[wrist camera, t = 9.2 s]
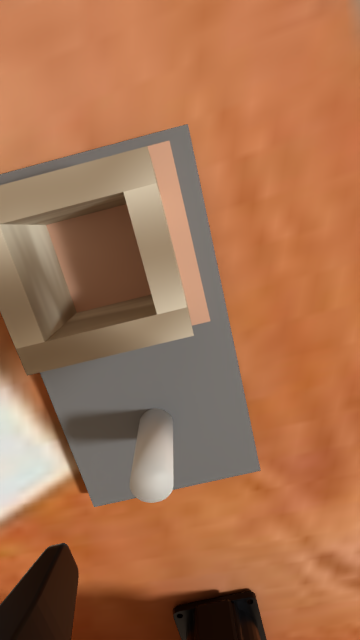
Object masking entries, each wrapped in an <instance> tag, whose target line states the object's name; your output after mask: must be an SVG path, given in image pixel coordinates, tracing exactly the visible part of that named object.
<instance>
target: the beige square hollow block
mask: <svg viewBox="0 0 360 640" xmlns="http://www.w3.org/2000/svg"><path fill="white" fill-rule="evenodd" d="M125 204H127V207H128V211H129V214H130V218H131V222H132V225H133V229H134V233H135V236H136V240H137V243H138V247H139V251H140V254H141V258H142V262H143V265H144V269H145V273H146V276H147V280H148V283H149V287H150V291H151V295H147V296H143V297H139V298H135V299H131V300H127V301H123V302H119V303H115V304H110V305H106V306H102V307H98V308H94V309H90V310H86V311H82V312H78V313H77V312H76V309H75V306H74V304H73V301H72V298H71V295H70V292H69V289H68V286H67V283H66V281H65V278H64V275H63V272H62V269H61V266H60V263H59V260H58V258H57V255H56V252H55V249H54V246H53V243H52V240H51V237H50V235H49V232H48V229H47V226H46V225H48V224H52V223H56V222H60V221H63V220H67V219H71V218H75V217H79V216H83V215H86V214H90V213H94V212H98V211H102V210H106V209H110V208H113V207H117V206H121V205H125ZM0 312H1V314H2V317H3V319H4V322H5V324H6V326H7V329H8V331H9V334H10V336H11V338H12V341H13V343H14V346H15V348H16V350H17V353H18V355H19V358H20V360H21V362H22V365H23V367H24V370H25V372H26V374H27V376H28V375H32V374H36V373H40V372H44V371H48V370H53V369H57V368H61V367H65V366H69V365H74V364H78V363H82V362H86V361H90V360H94V359H99V358H103V357H107V356H111V355H115V354H119V353H124V352H128V351H132V350H136V349H140V348H144V347H149V346H153V345H157V344H161V343H165V342H169V341H174V340H178V339H182V338H186V337H190V336H194V334H193V329H192V324H191V319H190V314H189V309H188V305H187V301H186V297H185V293H184V289H183V285H182V280H181V276H180V272H179V268H178V264H177V260H176V256H175V252H174V248H173V244H172V240H171V236H170V232H169V227H168V223H167V219H166V215H165V211H164V207H163V203H162V199H161V195H160V191H159V187H158V183H157V178H156V174H155V170H154V167H153V163H152V160H151V157H150V153H149V150H148V147H147V146H146V147H142V148H138V149H134V150H131V151H127V152H123V153H119V154H116V155H112V156H108V157H104V158H101V159H97V160H93V161H89V162H86V163H82V164H78V165H74V166H71V167H67V168H63V169H60V170H56V171H52V172H48V173H45V174H41V175H37V176H33V177H30V178H26V179H22V180H18V181H15V182H11V183H7V184H3V185H0Z"/></svg>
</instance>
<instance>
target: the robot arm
mask: <svg viewBox="0 0 360 640" xmlns="http://www.w3.org/2000/svg"><path fill="white" fill-rule="evenodd" d="M77 586H78V567H77V565H76V562H75V560H74V558H73V556H72V554H71V551H70V549H69V547H68V545H67V544H65V543H61V544H56V545H52V546H49V547H48V548H47V549H46V550H45V551H44V552H43V553H42V554H41V556H40V557H39V558H38V559H37V561H36V562H35V563H34V564H33V565H32V567H31V568H30V569H29V570H28V572H27V573H26V574H25V575H24V576H23V578H22V579H21V580H20V581H19V583H18V584H17V585H16V586H15V587H14V589H13V590H12V591H11V592H10V594H9V595H8V596H7V597H6V598H5V600H4V601H3V602H2V603H1V605H0V640H71V635H72V627H73V619H74V611H75V602H76V594H77ZM173 616H174V620H175V623H176V625H177V628H178V631H179V634H180V637H181V639H182V640H266V636H265V632H264V628H263V624H262V620H261V616H260V612H259V608H258V604H257V600H256V596H255V593H253V592H251V591H249V592H243V593H238V594H233V595H228V596H223V597H218V598H214V599H209V600H204V601H199V602H194V603H189V604H184V605H179V606H176V607H175V608H174V609H173Z"/></svg>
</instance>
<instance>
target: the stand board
mask: <svg viewBox="0 0 360 640" xmlns="http://www.w3.org/2000/svg"><path fill="white" fill-rule="evenodd" d="M146 146H147V147H148V150H149V153H150V157H151V160H152V163H153V167H154V170H155V174H156V178H157V183H158V187H159V191H160V195H161V199H162V203H163V207H164V211H165V215H166V219H167V223H168V227H169V232H170V236H171V240H172V244H173V248H174V252H175V256H176V260H177V264H178V268H179V272H180V276H181V280H182V285H183V289H184V293H185V297H186V301H187V305H188V309H189V314H190V319H191V324H192V329H193V334H194V336H190V337H186V338H182V339H178V340H174V341H169V342H165V343H161V344H157V345H153V346H149V347H144V348H140V349H136V350H132V351H128V352H124V353H119V354H115V355H111V356H107V357H103V358H99V359H94V360H90V361H86V362H82V363H78V364H74V365H69V366H65V367H61V368H57V369H53V370H48V371H44V372H40V374H41V377H42V379H43V381H44V384H45V386H46V389H47V391H48V394H49V396H50V399H51V401H52V404H53V406H54V409H55V411H56V414H57V416H58V419H59V421H60V424H61V426H62V429H63V431H64V434H65V436H66V439H67V441H68V443H69V446H70V448H71V451H72V453H73V456H74V458H75V461H76V463H77V466H78V468H79V471H80V473H81V476H82V478H83V481H84V483H85V486H86V488H87V491H88V493H89V496H90V498H91V501H92V503H93V505H94V507H97V506H101V505H106V504H110V503H115V502H119V501H124V500H129V499H133V498H138V499H139V500H141V501H144V502H150V503H153V502H159V501H162V500H164V499H165V498H167V497H168V496H169V495H170V494H171V492H172V490H174V489H179V488H183V487H188V486H192V485H197V484H202V483H206V482H211V481H215V480H220V479H224V478H229V477H233V476H238V475H243V474H247V473H252V472H256V471H261V470H260V466H259V461H258V456H257V451H256V447H255V442H254V437H253V432H252V428H251V423H250V418H249V413H248V409H247V404H246V399H245V394H244V390H243V385H242V380H241V375H240V371H239V366H238V361H237V356H236V351H235V347H234V342H233V337H232V332H231V328H230V323H229V318H228V313H227V309H226V304H225V299H224V294H223V290H222V285H221V280H220V275H219V271H218V266H217V261H216V256H215V252H214V247H213V242H212V237H211V233H210V228H209V223H208V218H207V214H206V209H205V204H204V199H203V195H202V190H201V185H200V180H199V175H198V171H197V166H196V161H195V156H194V152H193V147H192V142H191V137H190V133H189V128H188V124H186V125H183V126H179V127H175V128H171V129H168V130H164V131H160V132H157V133H153V134H149V135H145V136H142V137H138V138H134V139H131V140H127V141H123V142H119V143H116V144H112V145H108V146H104V147H101V148H97V149H93V150H90V151H86V152H82V153H78V154H75V155H71V156H67V157H63V158H60V159H56V160H52V161H49V162H45V163H41V164H37V165H34V166H30V167H26V168H23V169H19V170H15V171H11V172H8V173H4V174H0V185H3V184H7V183H11V182H15V181H18V180H22V179H26V178H30V177H33V176H37V175H41V174H45V173H48V172H52V171H56V170H60V169H63V168H67V167H71V166H74V165H78V164H82V163H86V162H89V161H93V160H97V159H101V158H104V157H108V156H112V155H116V154H119V153H123V152H127V151H131V150H134V149H138V148H142V147H146ZM46 226H47V229H48V232H49V235H50V237H51V240H52V243H53V246H54V249H55V252H56V255H57V258H58V260H59V263H60V266H61V269H62V272H63V275H64V278H65V281H66V283H67V286H68V289H69V292H70V295H71V298H72V301H73V304H74V306H75V309H76V312H77V313H78V312H82V311H86V310H90V309H94V308H98V307H102V306H106V305H110V304H115V303H119V302H123V301H127V300H131V299H135V298H139V297H143V296H147V295H151V291H150V287H149V283H148V280H147V276H146V273H145V269H144V265H143V262H142V258H141V254H140V251H139V247H138V243H137V240H136V236H135V233H134V229H133V225H132V222H131V218H130V214H129V211H128V207H127V204H125V205H121V206H117V207H113V208H110V209H106V210H102V211H98V212H94V213H90V214H86V215H83V216H79V217H75V218H71V219H67V220H63V221H60V222H56V223H52V224H48V225H46Z"/></svg>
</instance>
